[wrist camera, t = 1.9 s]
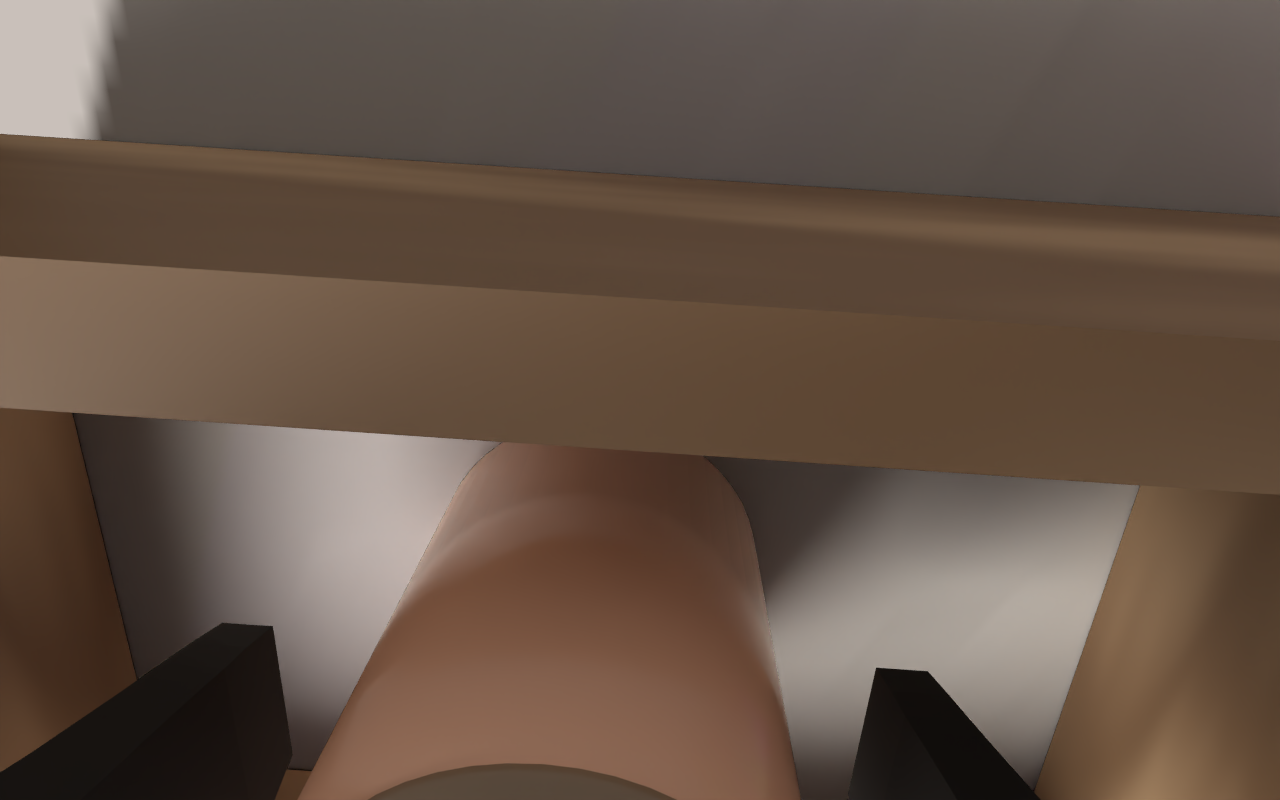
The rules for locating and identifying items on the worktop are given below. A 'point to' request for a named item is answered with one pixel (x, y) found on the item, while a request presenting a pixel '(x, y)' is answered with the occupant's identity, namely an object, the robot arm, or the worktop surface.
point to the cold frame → (668, 381)
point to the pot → (573, 644)
